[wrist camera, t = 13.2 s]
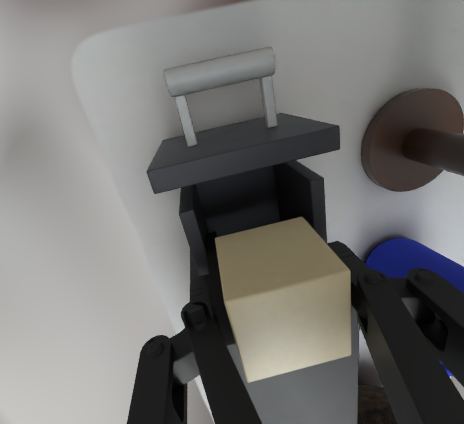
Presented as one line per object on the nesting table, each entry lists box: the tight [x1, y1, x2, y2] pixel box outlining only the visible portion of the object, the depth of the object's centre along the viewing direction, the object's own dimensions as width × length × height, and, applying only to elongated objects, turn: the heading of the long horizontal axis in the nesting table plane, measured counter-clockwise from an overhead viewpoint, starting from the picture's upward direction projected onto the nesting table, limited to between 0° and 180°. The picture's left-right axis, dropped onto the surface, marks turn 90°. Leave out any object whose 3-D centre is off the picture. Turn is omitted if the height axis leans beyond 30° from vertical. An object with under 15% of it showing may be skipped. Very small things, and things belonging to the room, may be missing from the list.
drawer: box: [147, 47, 340, 276], centre depth 19 cm, size 19×10×9 cm, turn 11°
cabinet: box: [190, 250, 359, 424], centre depth 24 cm, size 16×11×11 cm
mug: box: [365, 238, 464, 376], centre depth 27 cm, size 8×12×10 cm
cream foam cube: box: [215, 217, 351, 383], centre depth 13 cm, size 5×5×5 cm
